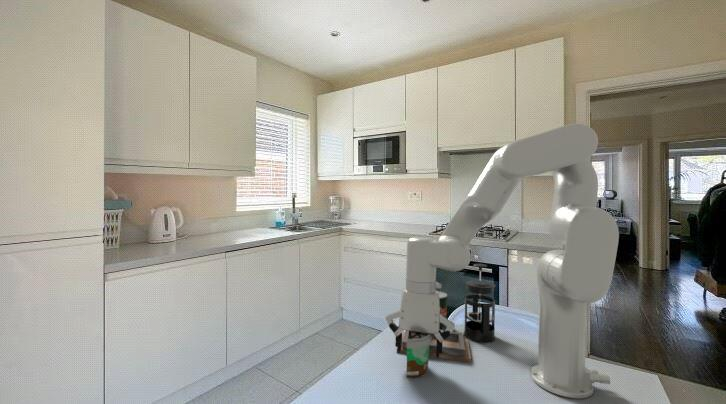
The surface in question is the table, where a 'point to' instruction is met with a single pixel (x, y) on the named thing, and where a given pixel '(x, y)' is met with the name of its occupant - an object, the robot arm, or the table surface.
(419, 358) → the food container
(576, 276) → the robot arm
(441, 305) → the canned tomato
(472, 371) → the table surface
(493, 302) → the french press
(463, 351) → the wooden tray
